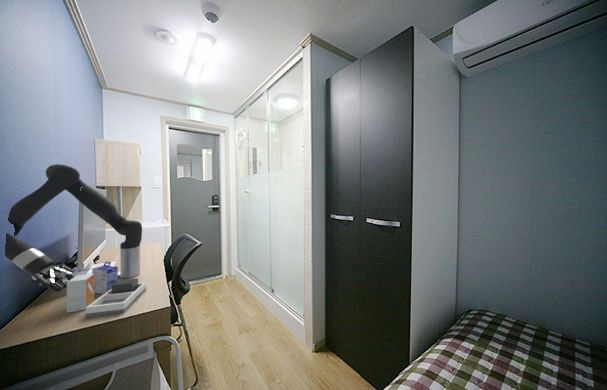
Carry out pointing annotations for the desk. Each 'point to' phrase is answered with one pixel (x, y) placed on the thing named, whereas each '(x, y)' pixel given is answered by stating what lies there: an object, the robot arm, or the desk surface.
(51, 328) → the desk surface
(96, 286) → the ink cartridge box
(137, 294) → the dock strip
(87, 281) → the small box
